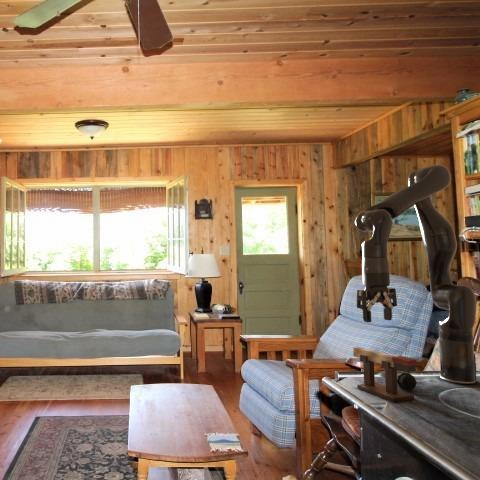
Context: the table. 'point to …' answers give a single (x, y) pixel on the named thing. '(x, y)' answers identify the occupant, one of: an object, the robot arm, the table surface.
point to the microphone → (405, 381)
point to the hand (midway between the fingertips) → (377, 321)
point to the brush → (387, 359)
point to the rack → (379, 389)
